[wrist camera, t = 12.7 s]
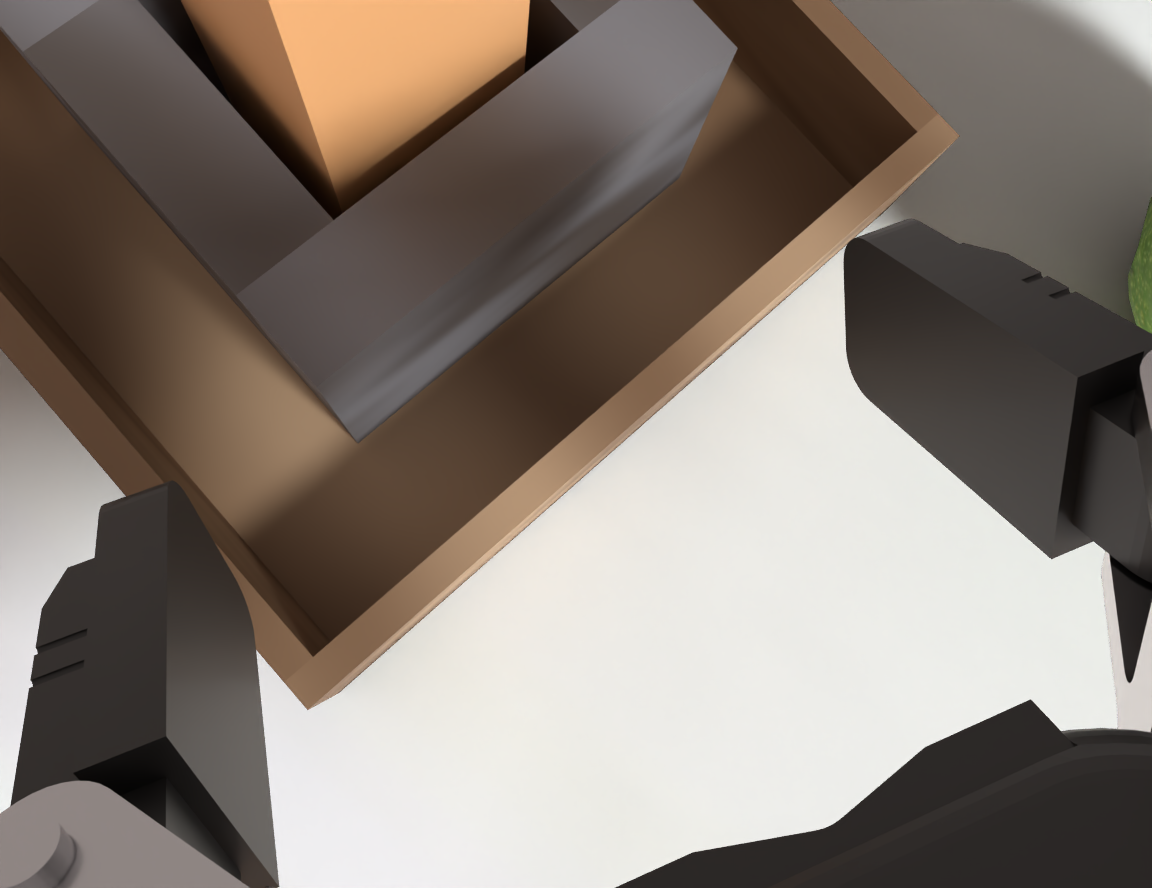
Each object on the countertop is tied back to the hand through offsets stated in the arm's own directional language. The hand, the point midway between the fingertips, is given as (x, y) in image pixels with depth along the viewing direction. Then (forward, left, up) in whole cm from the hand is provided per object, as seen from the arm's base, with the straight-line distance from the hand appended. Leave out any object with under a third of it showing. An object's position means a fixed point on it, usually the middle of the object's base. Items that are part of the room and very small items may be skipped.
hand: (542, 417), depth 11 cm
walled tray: (-3, -8, -9) cm, 12 cm away
